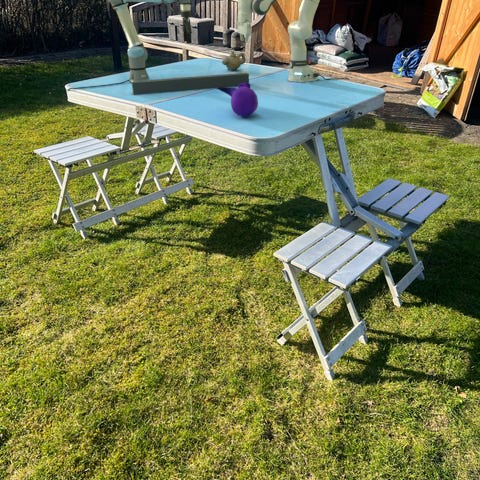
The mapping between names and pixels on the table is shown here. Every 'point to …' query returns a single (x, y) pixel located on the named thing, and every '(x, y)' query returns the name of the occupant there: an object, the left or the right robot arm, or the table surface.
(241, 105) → the toy
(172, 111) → the table surface
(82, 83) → the table surface
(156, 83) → the bar
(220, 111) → the table surface
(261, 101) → the table surface
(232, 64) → the teapot
